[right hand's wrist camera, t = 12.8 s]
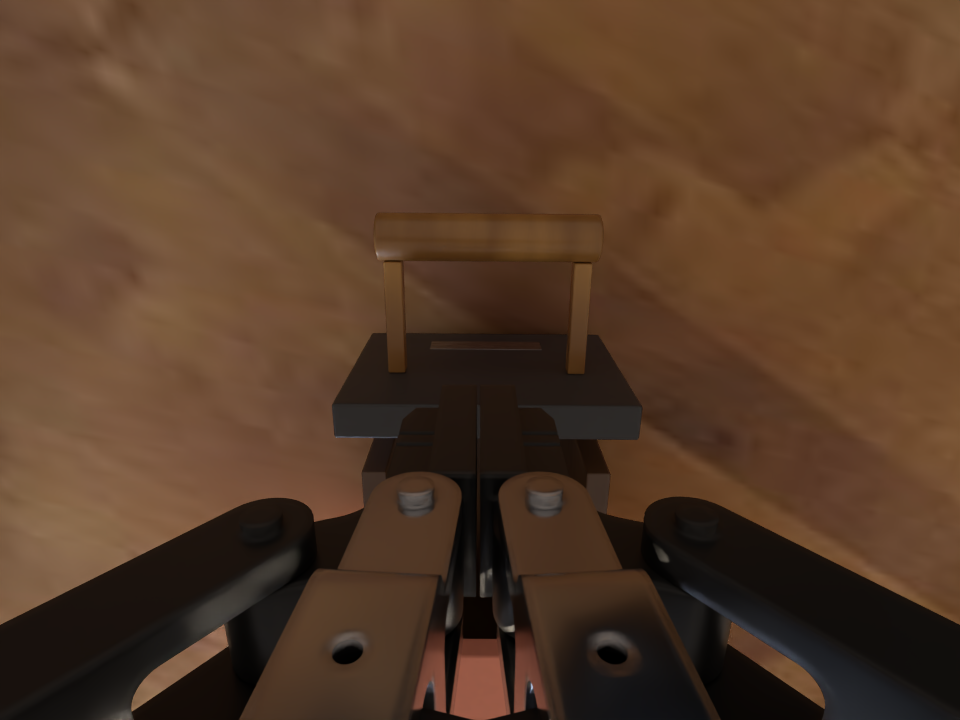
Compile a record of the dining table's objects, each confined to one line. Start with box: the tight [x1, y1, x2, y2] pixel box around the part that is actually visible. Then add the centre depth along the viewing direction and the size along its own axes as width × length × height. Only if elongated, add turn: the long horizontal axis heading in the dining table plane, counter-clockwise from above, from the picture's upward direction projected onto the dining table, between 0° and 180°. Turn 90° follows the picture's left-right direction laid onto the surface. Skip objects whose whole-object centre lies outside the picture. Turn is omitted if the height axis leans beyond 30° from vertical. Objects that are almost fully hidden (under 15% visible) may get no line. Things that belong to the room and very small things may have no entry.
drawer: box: [332, 213, 642, 639], centre depth 24 cm, size 25×10×7 cm, turn 0°
